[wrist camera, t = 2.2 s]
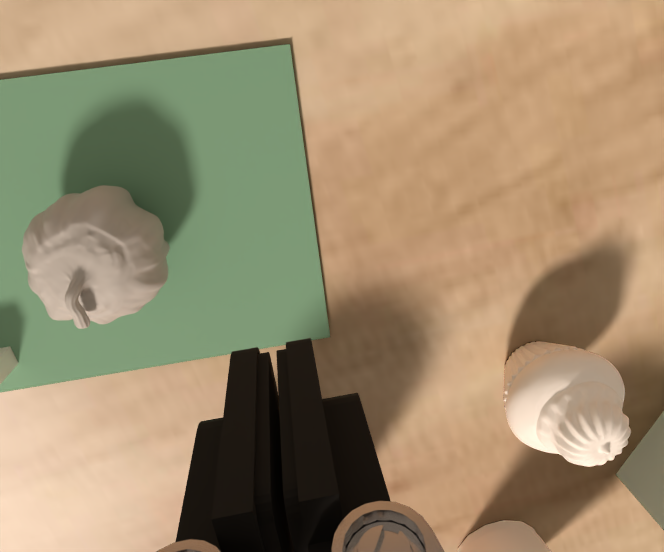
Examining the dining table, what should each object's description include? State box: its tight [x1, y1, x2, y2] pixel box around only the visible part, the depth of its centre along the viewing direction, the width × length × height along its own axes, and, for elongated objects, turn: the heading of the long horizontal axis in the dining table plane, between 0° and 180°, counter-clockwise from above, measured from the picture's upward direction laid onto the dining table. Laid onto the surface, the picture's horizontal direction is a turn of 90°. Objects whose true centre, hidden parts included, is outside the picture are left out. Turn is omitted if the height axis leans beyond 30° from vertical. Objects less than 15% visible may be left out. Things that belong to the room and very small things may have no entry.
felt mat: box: [0, 44, 330, 392], centre depth 21 cm, size 26×14×1 cm, turn 97°
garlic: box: [22, 185, 170, 329], centre depth 18 cm, size 6×5×5 cm
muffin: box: [503, 341, 631, 467], centre depth 24 cm, size 6×6×7 cm
